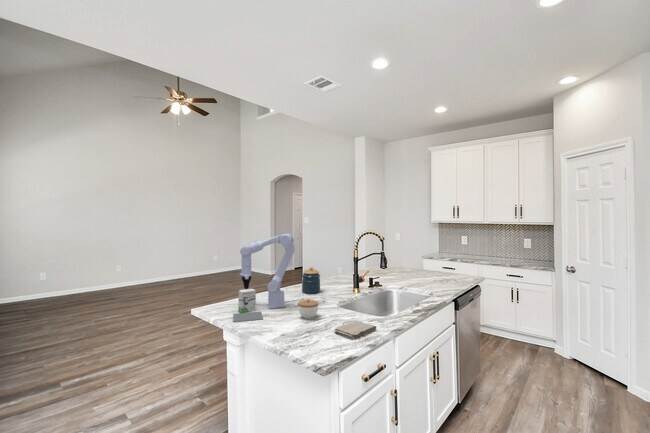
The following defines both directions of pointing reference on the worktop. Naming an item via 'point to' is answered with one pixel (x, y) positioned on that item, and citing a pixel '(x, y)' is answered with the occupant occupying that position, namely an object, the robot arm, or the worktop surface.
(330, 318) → the worktop surface
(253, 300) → the ink box
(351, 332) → the washcloth
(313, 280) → the canister
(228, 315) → the worktop surface
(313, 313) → the lidded jar
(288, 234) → the robot arm
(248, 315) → the mat
